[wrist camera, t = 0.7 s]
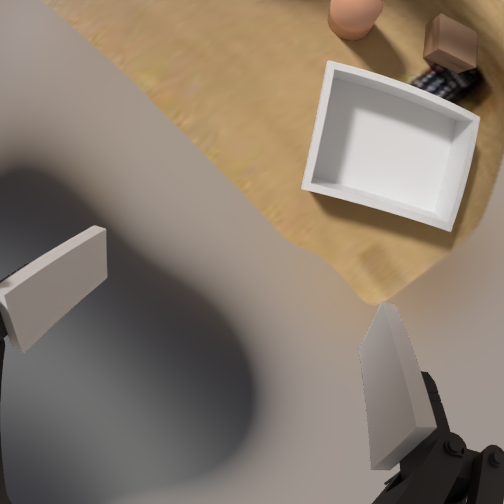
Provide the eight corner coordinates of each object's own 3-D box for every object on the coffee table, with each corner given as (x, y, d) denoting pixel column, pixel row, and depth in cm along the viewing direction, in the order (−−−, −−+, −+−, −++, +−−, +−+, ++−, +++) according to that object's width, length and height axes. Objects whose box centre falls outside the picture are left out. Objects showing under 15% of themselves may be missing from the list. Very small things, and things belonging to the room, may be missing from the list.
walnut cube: (425, 25, 23) (440, 13, 18) (459, 41, 22) (477, 32, 18) (422, 57, 25) (438, 48, 20) (457, 73, 25) (475, 67, 20)
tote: (324, 70, 28) (327, 60, 24) (460, 117, 27) (480, 117, 22) (302, 181, 34) (301, 189, 29) (434, 219, 32) (450, 232, 28)
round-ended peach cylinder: (330, 1, 24) (334, -25, 18) (371, 12, 24) (384, -11, 18) (325, 34, 26) (328, 12, 20) (367, 45, 26) (380, 26, 20)
